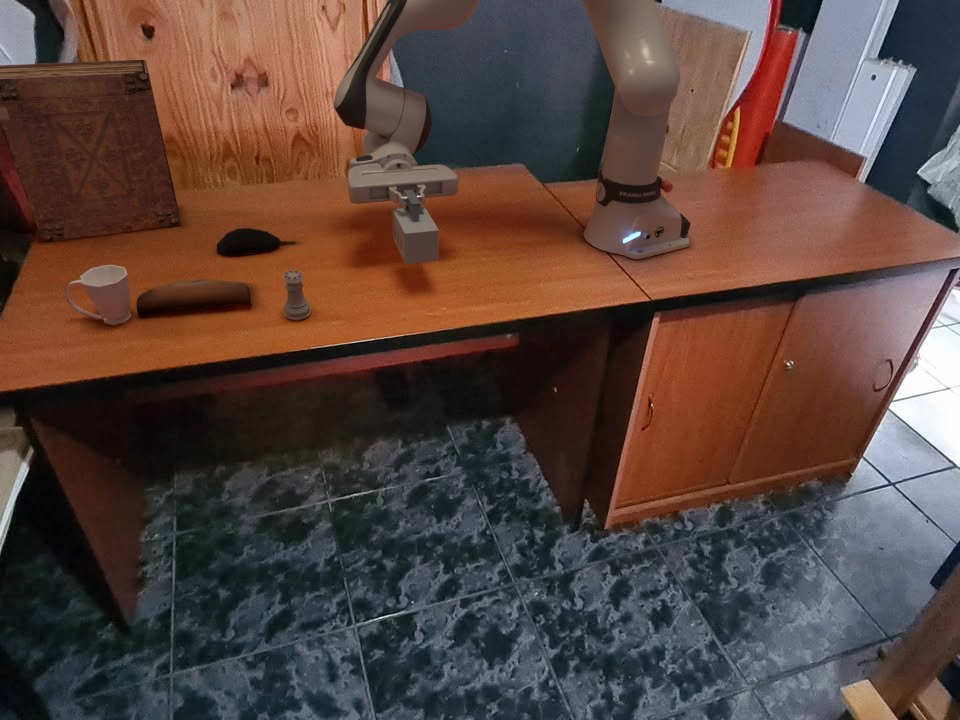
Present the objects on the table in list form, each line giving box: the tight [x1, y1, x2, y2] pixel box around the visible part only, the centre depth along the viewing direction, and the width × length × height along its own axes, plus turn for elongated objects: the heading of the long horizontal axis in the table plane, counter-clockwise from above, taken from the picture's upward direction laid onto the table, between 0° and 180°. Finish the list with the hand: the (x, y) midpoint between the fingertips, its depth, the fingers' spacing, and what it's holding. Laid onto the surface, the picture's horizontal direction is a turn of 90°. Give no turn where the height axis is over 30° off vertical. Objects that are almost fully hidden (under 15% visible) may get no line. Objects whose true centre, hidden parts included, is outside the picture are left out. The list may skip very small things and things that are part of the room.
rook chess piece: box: [282, 269, 312, 321], centre depth 115 cm, size 4×4×8 cm
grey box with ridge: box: [391, 190, 440, 265], centre depth 122 cm, size 10×6×9 cm, turn 18°
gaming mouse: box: [216, 227, 297, 257], centre depth 134 cm, size 6×15×4 cm, turn 109°
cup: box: [65, 264, 132, 326], centre depth 111 cm, size 7×10×8 cm
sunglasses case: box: [136, 278, 253, 316], centre depth 117 cm, size 18×7×7 cm
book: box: [0, 59, 182, 243], centre depth 131 cm, size 25×9×30 cm, turn 113°
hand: (412, 201), depth 121 cm, fingers closed on grey box with ridge
